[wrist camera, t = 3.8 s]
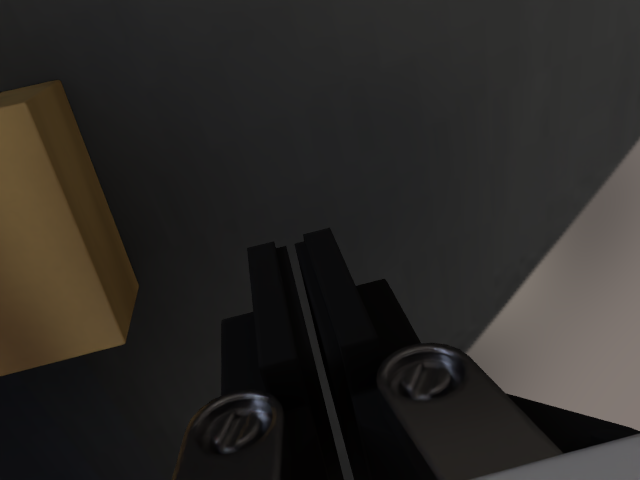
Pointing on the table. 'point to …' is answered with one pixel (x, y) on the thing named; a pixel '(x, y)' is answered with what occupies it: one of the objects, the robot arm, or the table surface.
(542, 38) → the table surface
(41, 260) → the maple block
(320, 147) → the table surface
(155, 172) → the table surface
